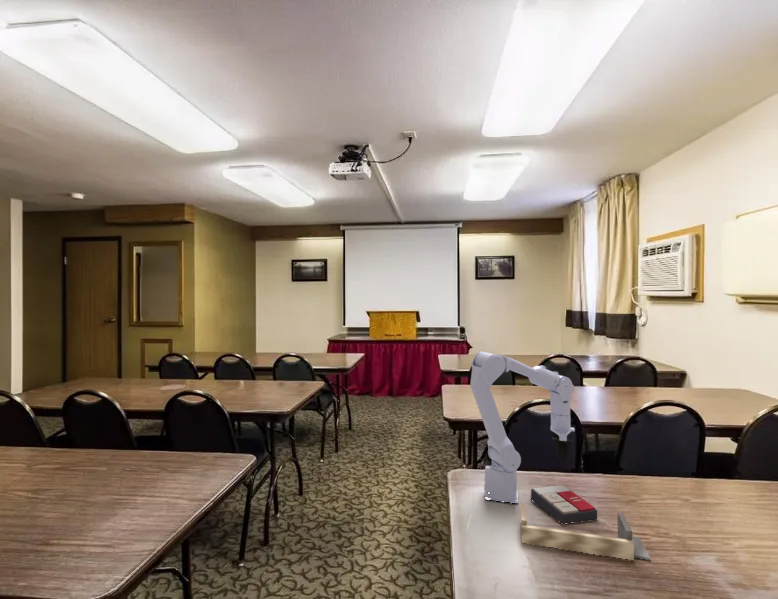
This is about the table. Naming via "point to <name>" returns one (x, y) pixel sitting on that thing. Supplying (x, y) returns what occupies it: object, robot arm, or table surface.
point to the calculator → (563, 504)
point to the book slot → (586, 540)
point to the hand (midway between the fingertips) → (561, 457)
